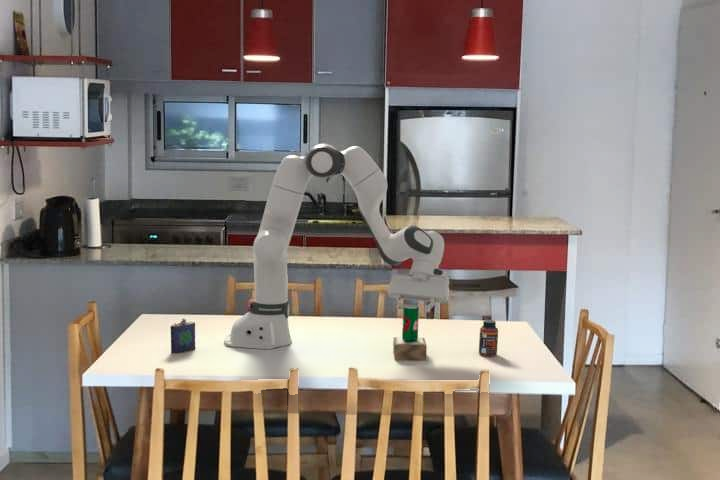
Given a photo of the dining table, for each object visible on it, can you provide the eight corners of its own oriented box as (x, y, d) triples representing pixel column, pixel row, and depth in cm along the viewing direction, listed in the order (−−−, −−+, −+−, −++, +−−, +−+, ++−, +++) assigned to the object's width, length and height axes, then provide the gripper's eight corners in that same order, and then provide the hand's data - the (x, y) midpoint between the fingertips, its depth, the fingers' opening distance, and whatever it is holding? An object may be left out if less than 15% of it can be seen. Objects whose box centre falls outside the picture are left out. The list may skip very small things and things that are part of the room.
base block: (394, 360, 295) (395, 344, 294) (393, 351, 305) (393, 336, 304) (426, 360, 295) (426, 344, 294) (423, 352, 305) (424, 336, 304)
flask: (192, 347, 304) (192, 315, 303) (197, 349, 302) (197, 317, 301) (169, 352, 298) (168, 320, 296) (174, 354, 296) (174, 321, 294)
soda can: (416, 342, 296) (417, 306, 295) (400, 341, 298) (401, 304, 296) (419, 339, 301) (420, 302, 300) (403, 337, 303) (404, 301, 301)
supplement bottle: (485, 357, 301) (487, 323, 299) (475, 353, 306) (476, 319, 304) (500, 356, 303) (502, 322, 302) (490, 351, 308) (491, 318, 307)
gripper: (391, 266, 309) (380, 300, 301) (450, 272, 301) (440, 307, 294) (395, 277, 313) (384, 311, 306) (454, 283, 306) (444, 318, 298)
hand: (412, 309), depth 300 cm, fingers open, 8 cm apart
